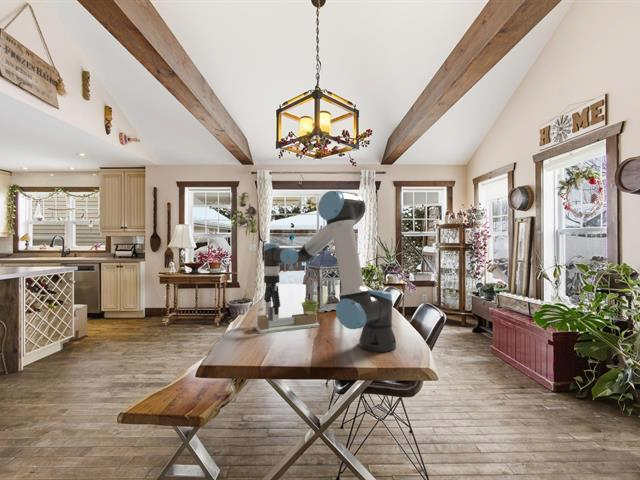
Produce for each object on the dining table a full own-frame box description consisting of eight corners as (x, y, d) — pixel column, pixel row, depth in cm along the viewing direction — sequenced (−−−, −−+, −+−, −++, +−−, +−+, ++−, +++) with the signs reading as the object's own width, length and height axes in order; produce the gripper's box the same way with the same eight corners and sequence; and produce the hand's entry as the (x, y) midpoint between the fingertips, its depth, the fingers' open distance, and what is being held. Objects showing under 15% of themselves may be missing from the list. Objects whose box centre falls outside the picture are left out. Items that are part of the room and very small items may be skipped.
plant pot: (298, 317, 190) (298, 302, 190) (314, 316, 194) (314, 300, 194) (305, 321, 182) (305, 305, 182) (321, 319, 186) (321, 303, 186)
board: (319, 326, 171) (319, 314, 171) (260, 333, 159) (260, 319, 159) (310, 321, 182) (310, 309, 182) (254, 327, 170) (254, 314, 170)
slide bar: (296, 323, 171) (296, 306, 171) (263, 327, 164) (263, 308, 164) (294, 322, 174) (294, 304, 173) (262, 326, 167) (262, 307, 167)
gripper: (287, 277, 157) (287, 323, 157) (272, 272, 180) (272, 312, 180) (271, 277, 154) (271, 324, 154) (258, 272, 177) (258, 313, 177)
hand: (271, 318), depth 167 cm, fingers open, 13 cm apart
